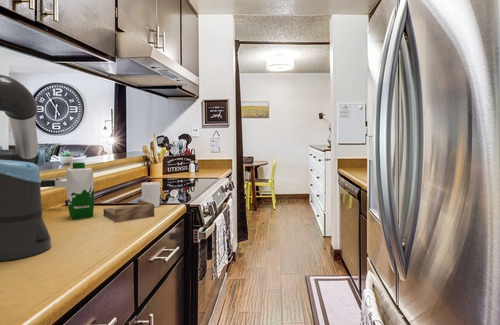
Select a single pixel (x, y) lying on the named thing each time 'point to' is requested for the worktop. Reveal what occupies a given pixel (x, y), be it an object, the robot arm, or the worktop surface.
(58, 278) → the worktop surface
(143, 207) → the wooden tray
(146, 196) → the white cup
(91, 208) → the white two-tone container
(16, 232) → the robot arm
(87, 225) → the worktop surface
